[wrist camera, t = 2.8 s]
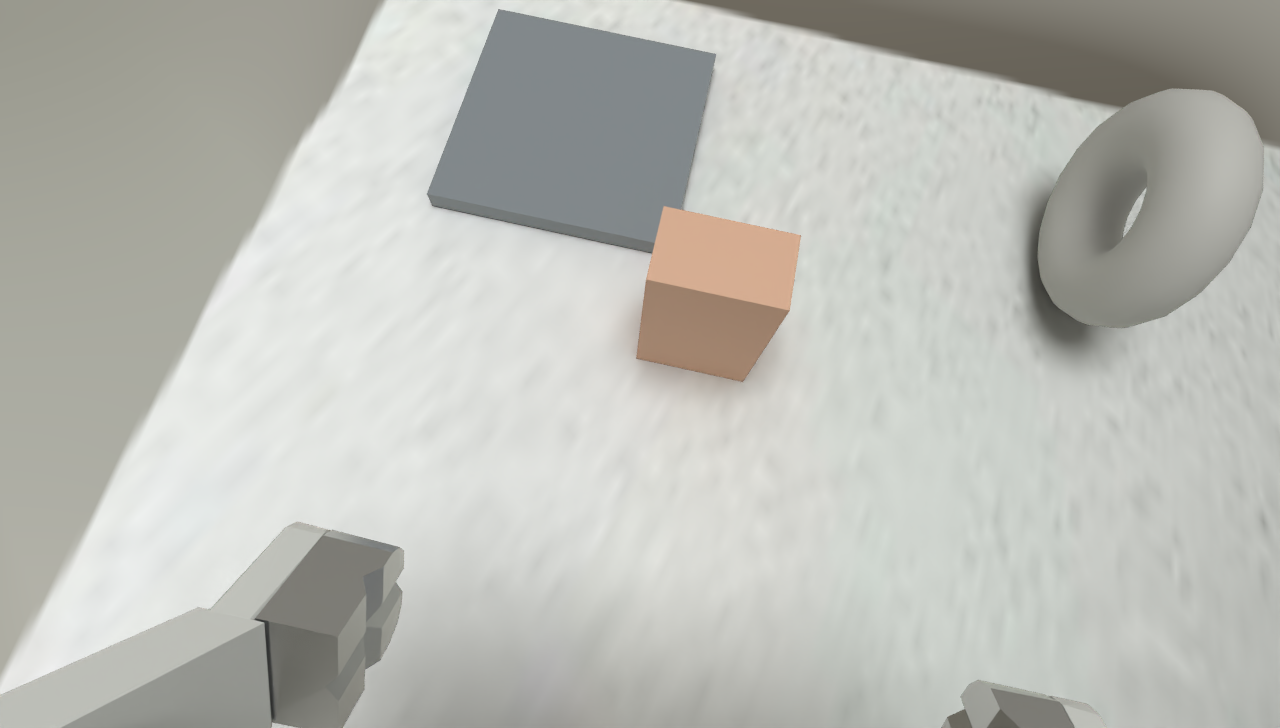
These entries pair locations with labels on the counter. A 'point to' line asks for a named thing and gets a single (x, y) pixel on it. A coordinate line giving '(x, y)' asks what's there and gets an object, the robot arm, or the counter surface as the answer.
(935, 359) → the counter surface
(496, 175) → the coaster
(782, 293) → the block
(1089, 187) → the donut
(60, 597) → the counter surface
